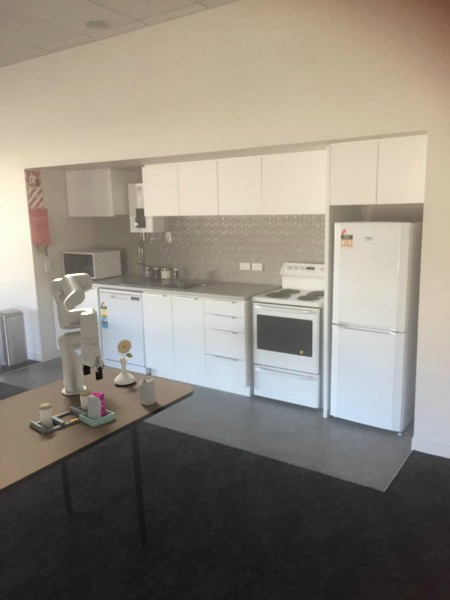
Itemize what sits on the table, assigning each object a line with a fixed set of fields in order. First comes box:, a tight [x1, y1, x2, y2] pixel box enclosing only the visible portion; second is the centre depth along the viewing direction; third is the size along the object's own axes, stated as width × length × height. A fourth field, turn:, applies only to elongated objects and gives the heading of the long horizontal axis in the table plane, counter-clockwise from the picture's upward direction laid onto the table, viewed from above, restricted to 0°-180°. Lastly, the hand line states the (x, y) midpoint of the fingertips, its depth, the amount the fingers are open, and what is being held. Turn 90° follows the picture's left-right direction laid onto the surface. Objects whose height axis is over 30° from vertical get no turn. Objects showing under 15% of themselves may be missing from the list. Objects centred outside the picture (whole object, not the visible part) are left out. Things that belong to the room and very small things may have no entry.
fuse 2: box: [79, 389, 92, 412], centre depth 234 cm, size 5×5×10 cm
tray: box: [78, 408, 116, 428], centre depth 226 cm, size 11×11×3 cm
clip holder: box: [28, 406, 85, 435], centre depth 228 cm, size 13×30×2 cm, turn 137°
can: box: [138, 377, 157, 407], centre depth 242 cm, size 8×8×12 cm
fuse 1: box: [38, 402, 54, 430], centre depth 220 cm, size 5×5×10 cm
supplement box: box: [87, 392, 106, 420], centre depth 225 cm, size 6×6×12 cm
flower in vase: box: [113, 338, 136, 386], centre depth 270 cm, size 13×11×25 cm
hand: (93, 377), depth 223 cm, fingers open, 9 cm apart
